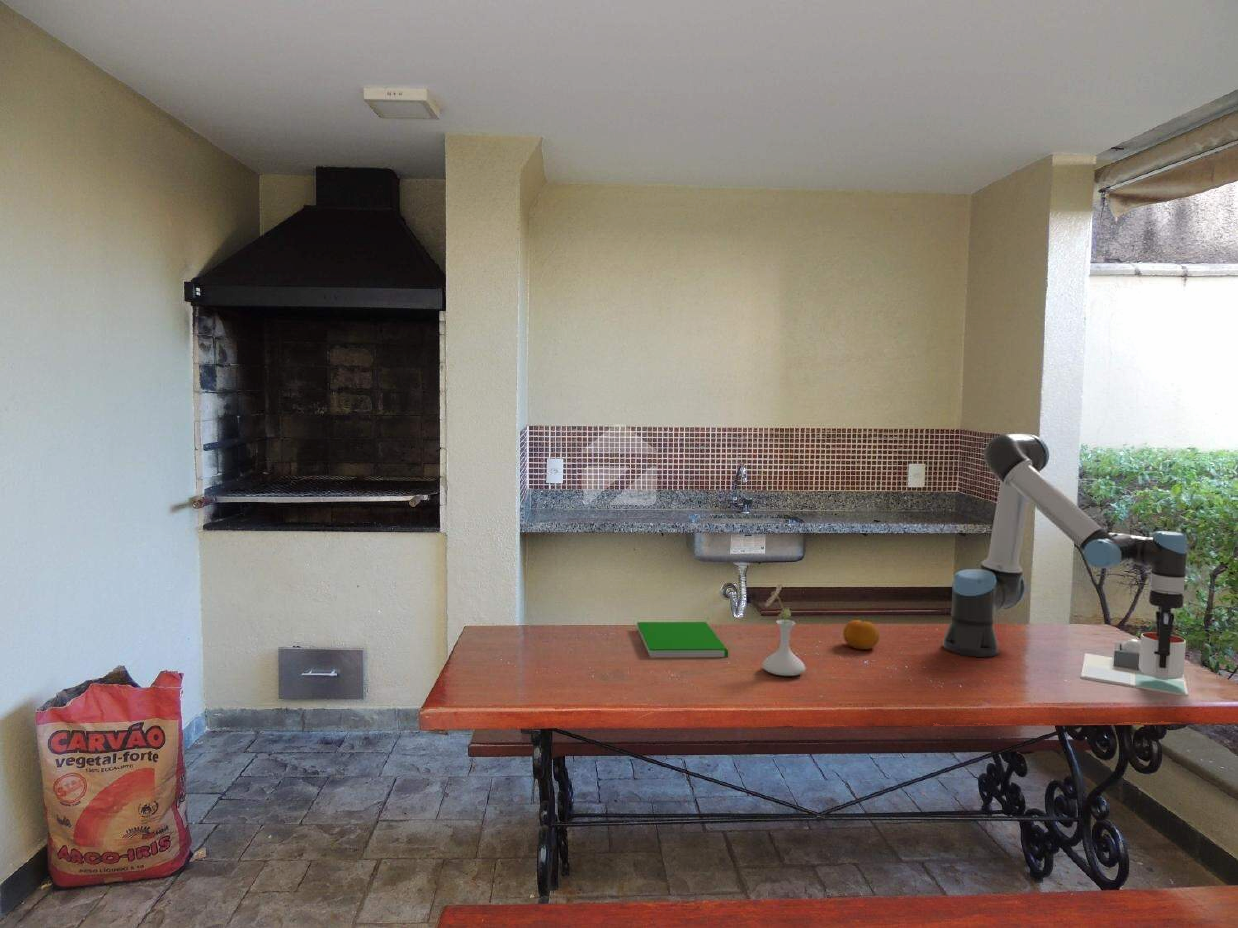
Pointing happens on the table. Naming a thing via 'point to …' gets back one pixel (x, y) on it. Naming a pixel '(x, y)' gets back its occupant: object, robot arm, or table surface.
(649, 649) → the book
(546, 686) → the table surface
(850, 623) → the fruit
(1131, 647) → the dome button
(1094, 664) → the game board
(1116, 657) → the dome housing
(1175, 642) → the cup
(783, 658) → the flower in vase
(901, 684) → the table surface
